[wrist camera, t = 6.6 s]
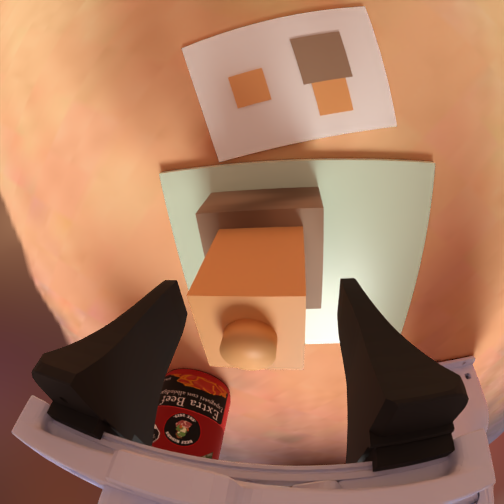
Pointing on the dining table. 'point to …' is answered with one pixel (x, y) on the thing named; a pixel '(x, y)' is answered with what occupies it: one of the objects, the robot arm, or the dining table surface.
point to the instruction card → (291, 81)
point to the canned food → (191, 414)
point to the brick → (252, 299)
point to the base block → (271, 223)
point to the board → (328, 224)
